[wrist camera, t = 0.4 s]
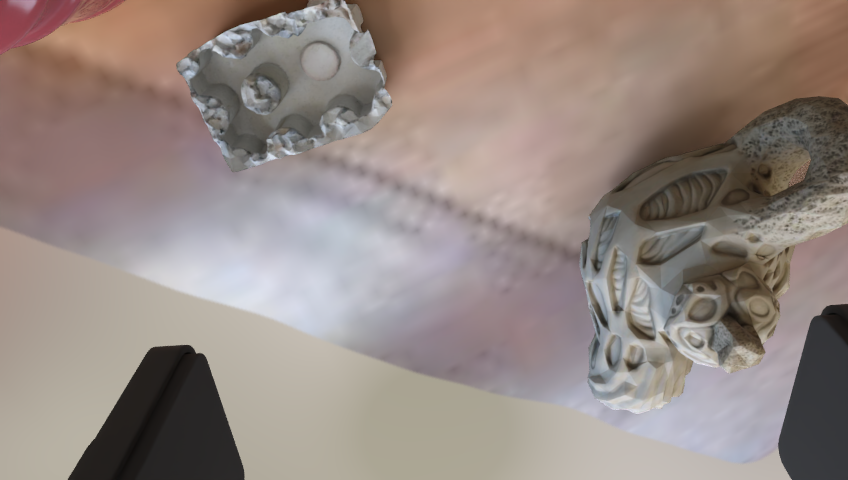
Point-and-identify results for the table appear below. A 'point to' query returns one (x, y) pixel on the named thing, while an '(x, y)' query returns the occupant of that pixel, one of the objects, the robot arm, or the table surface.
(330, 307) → the table surface
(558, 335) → the table surface
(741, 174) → the teapot
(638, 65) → the table surface
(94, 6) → the kitchen canister
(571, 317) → the table surface
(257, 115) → the egg carton
